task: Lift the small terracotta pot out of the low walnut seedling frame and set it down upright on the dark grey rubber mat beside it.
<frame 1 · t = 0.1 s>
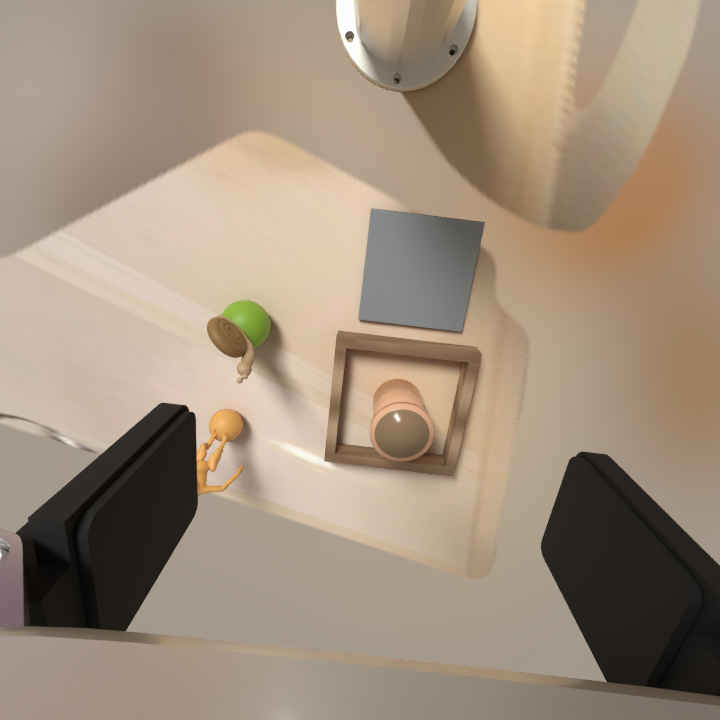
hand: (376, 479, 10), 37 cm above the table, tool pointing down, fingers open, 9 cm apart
seedling frame: (397, 401, 49), on the table
snail figurine: (255, 322, 47), on the table
terracotta pot: (397, 401, 50), resting in seedling frame
figurine: (230, 423, 51), on the table
grey mat: (418, 272, 44), on the table
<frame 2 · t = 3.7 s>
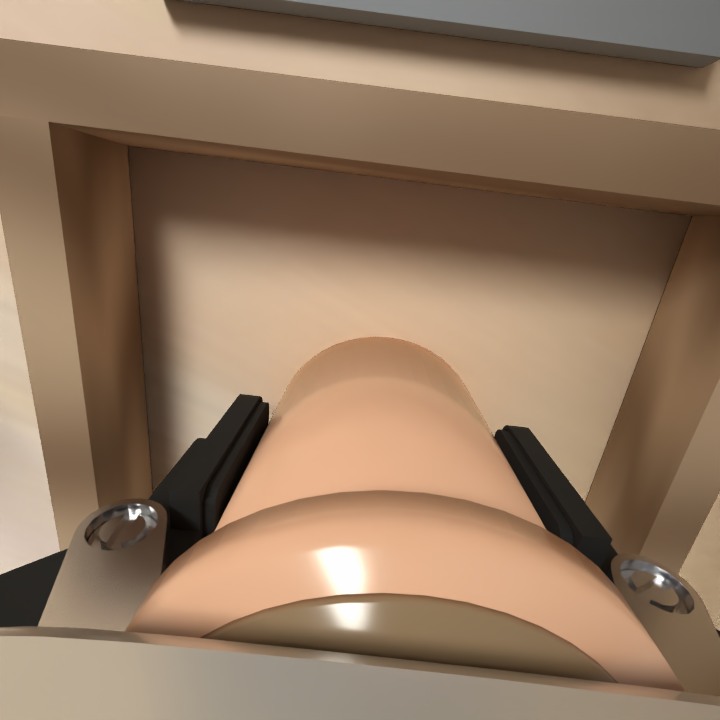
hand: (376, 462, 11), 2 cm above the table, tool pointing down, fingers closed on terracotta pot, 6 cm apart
seedling frame: (375, 430, 12), on the table
terracotta pot: (375, 431, 12), resting in seedling frame, touching gripper
when the fingers open (4 cm above the table, at t = 11.7 s): terracotta pot drops 2 cm, resting on grey mat.
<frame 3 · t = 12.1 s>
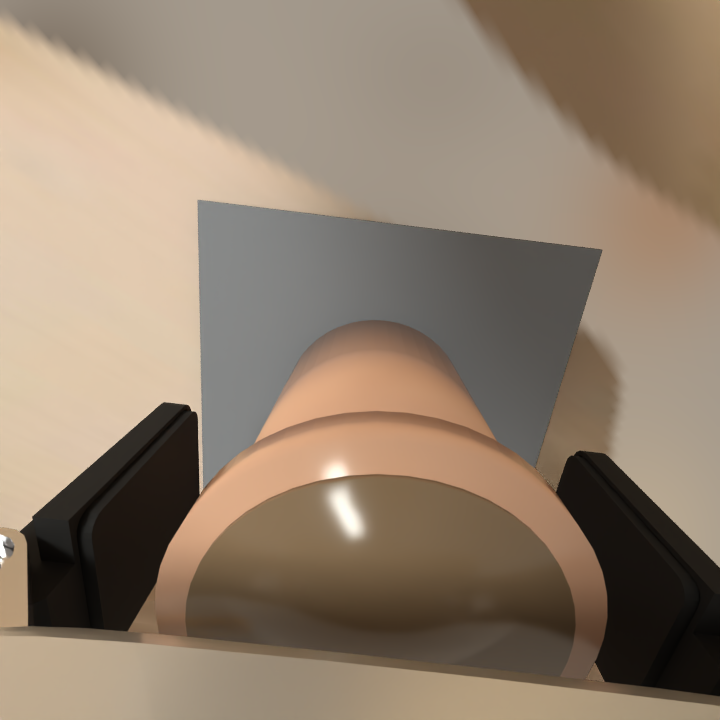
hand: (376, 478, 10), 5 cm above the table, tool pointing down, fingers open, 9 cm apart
seedling frame: (333, 692, 20), on the table
terracotta pot: (373, 405, 14), point 1 cm above the table, touching grey mat
grey mat: (375, 400, 14), on the table
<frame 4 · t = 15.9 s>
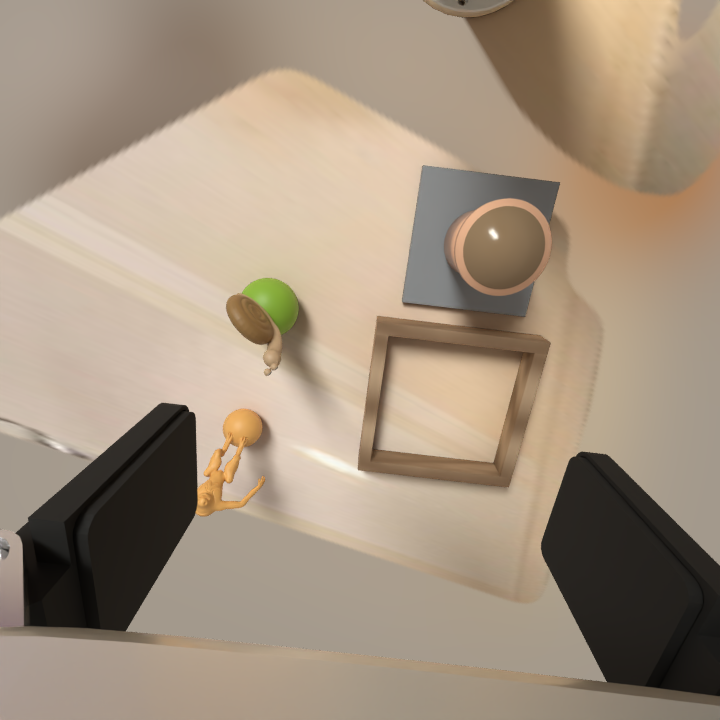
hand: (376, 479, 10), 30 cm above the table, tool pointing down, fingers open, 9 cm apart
seedling frame: (443, 399, 42), on the table
snail figurine: (279, 305, 40), on the table
terracotta pot: (476, 244, 36), point 1 cm above the table, touching grey mat
figurine: (246, 425, 44), on the table
grey mat: (475, 245, 37), on the table
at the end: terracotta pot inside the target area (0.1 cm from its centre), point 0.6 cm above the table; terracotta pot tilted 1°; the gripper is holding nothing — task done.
